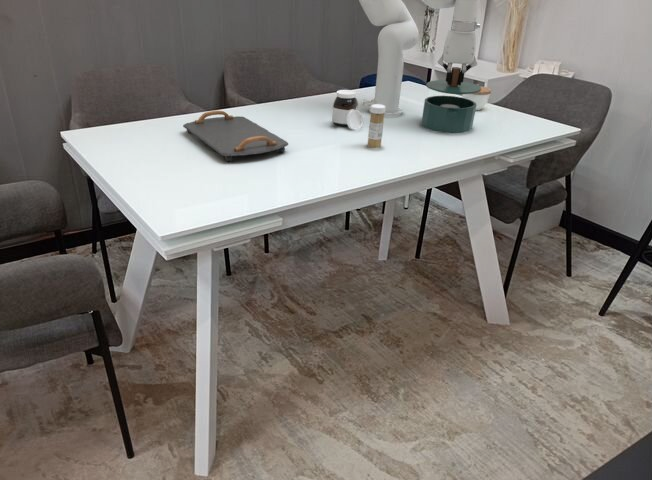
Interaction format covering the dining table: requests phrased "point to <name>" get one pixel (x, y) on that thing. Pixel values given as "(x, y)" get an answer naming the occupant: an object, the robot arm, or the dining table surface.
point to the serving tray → (234, 135)
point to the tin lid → (453, 85)
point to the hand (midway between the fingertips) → (453, 83)
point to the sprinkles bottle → (376, 125)
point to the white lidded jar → (479, 97)
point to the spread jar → (346, 110)
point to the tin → (448, 114)
